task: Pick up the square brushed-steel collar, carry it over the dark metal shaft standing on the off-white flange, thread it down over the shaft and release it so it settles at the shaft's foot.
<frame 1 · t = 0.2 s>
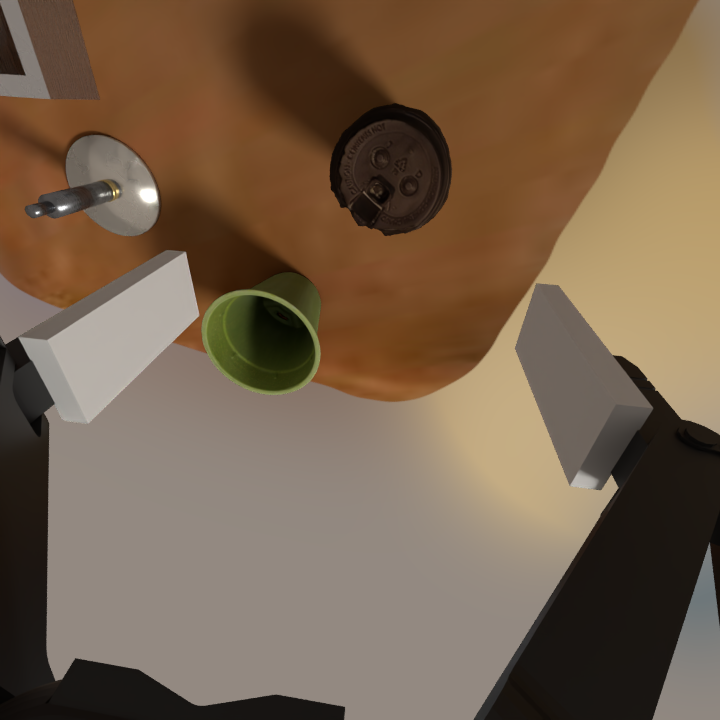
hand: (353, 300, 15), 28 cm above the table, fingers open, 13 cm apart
collar: (44, 43, 35), on the table
plant pot: (292, 297, 46), on the table
post: (115, 188, 41), on the table
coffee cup: (396, 156, 36), on the table
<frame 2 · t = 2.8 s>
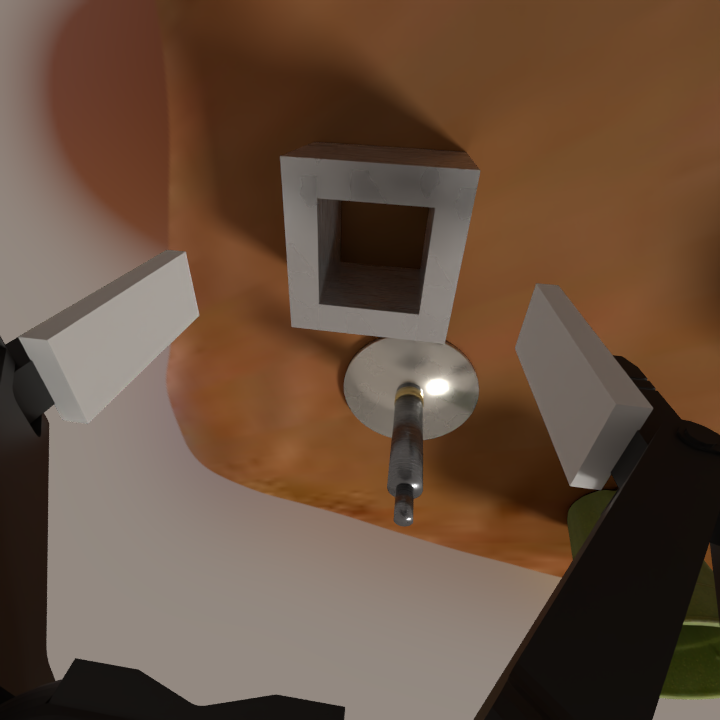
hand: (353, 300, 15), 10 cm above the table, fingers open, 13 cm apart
collar: (383, 224, 22), on the table
plant pot: (608, 509, 34), on the table
post: (409, 389, 29), on the table
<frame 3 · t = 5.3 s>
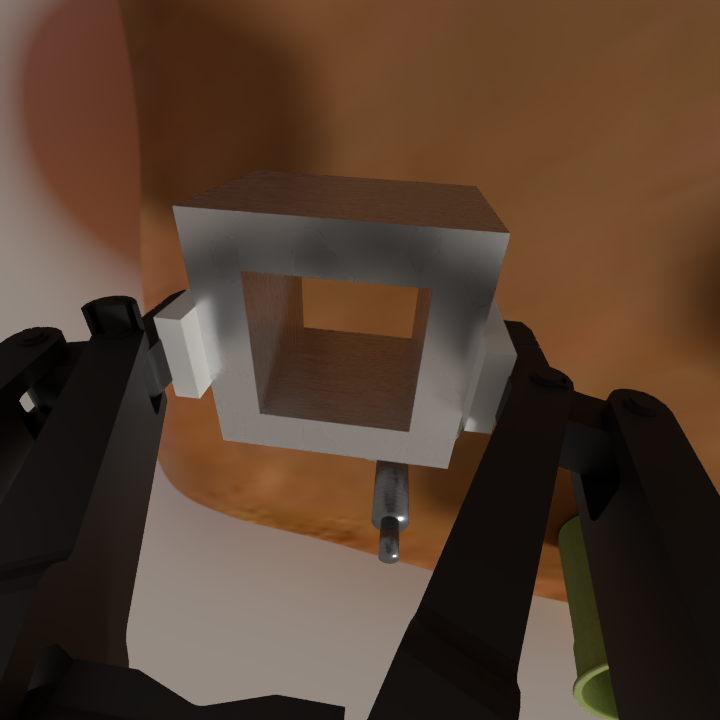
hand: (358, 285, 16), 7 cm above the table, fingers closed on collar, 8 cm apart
collar: (359, 281, 16), point 6 cm above the table, touching gripper
plant pot: (599, 529, 33), on the table
post: (394, 412, 28), on the table
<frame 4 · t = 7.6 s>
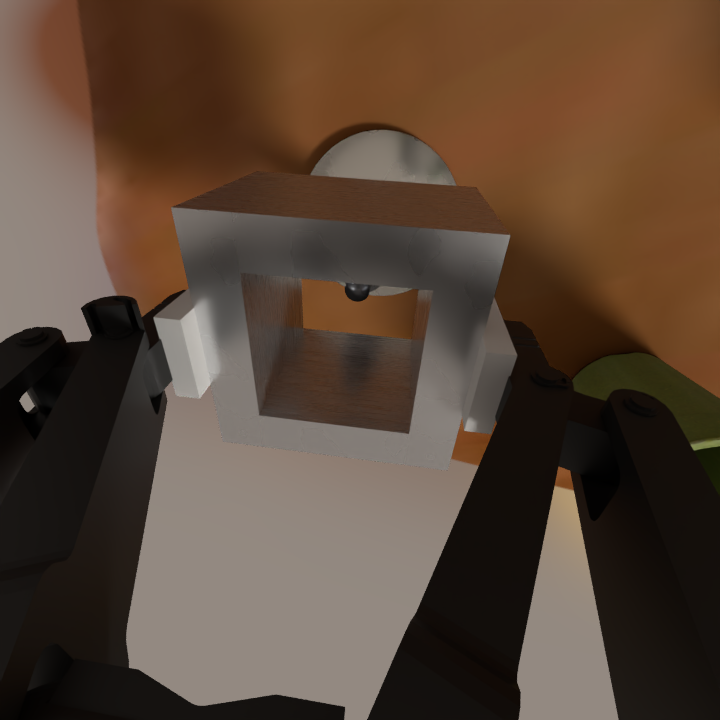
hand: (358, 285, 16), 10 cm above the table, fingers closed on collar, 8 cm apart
collar: (359, 282, 16), point 10 cm above the table, touching gripper
plant pot: (614, 386, 29), on the table
post: (379, 220, 24), on the table
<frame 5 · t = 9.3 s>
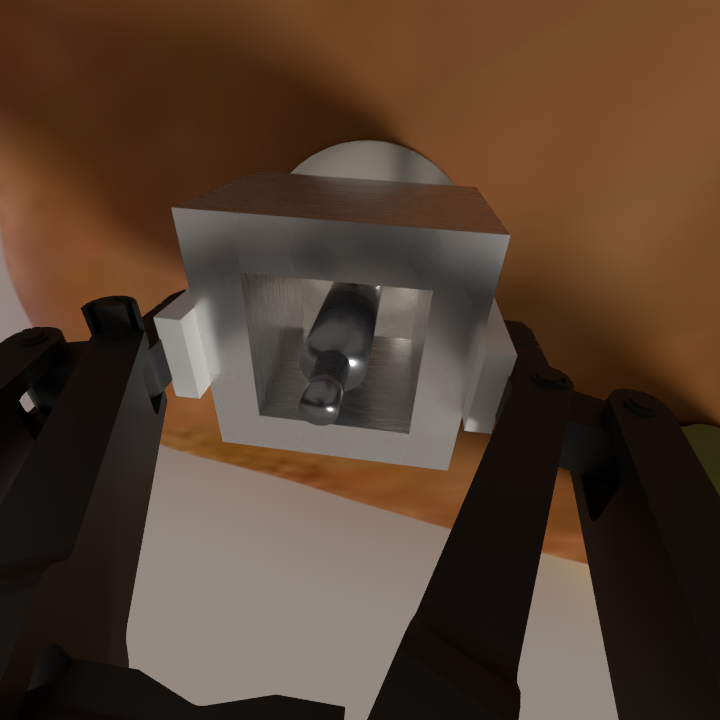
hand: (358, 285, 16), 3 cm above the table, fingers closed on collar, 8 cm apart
collar: (359, 282, 16), point 3 cm above the table, touching gripper
plant pot: (664, 459, 23), on the table
post: (367, 259, 18), on the table
when the fingers open (3 cm above the table, at t = 10.2 s): collar drops 2 cm, resting on post.
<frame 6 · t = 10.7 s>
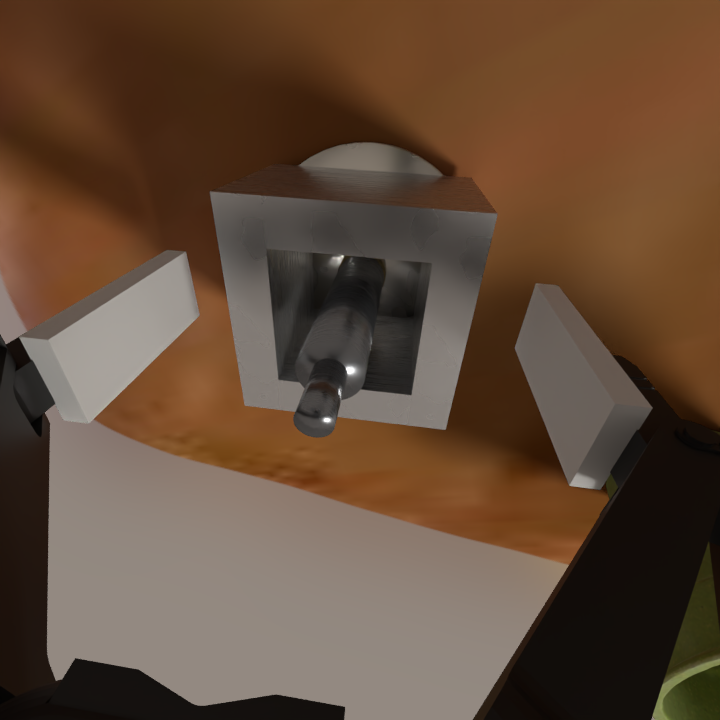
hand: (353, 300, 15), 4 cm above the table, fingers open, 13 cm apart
collar: (365, 265, 18), resting on post
plant pot: (667, 464, 23), on the table
post: (365, 262, 18), on the table
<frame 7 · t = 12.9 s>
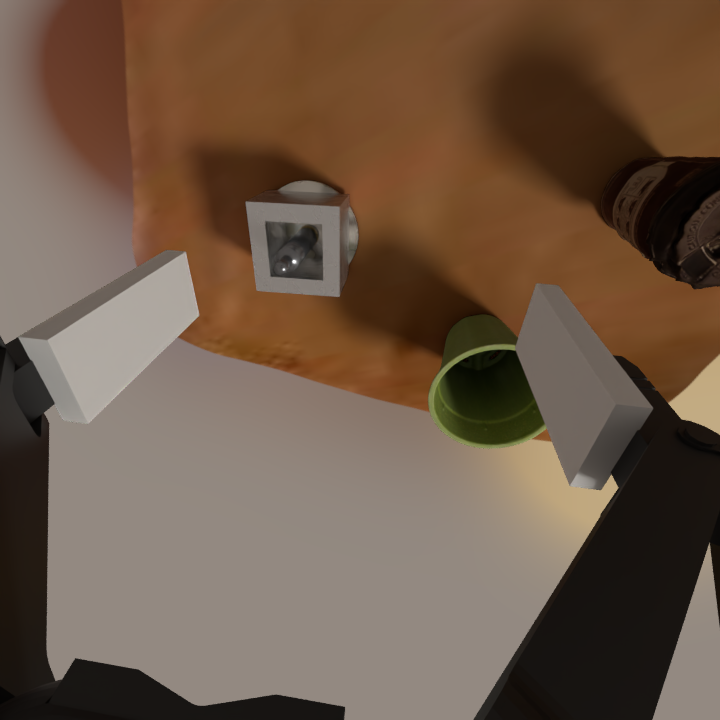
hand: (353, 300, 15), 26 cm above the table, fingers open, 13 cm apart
collar: (310, 234, 39), resting on post
plant pot: (476, 339, 44), on the table
post: (310, 233, 39), on the table
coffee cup: (634, 196, 34), on the table
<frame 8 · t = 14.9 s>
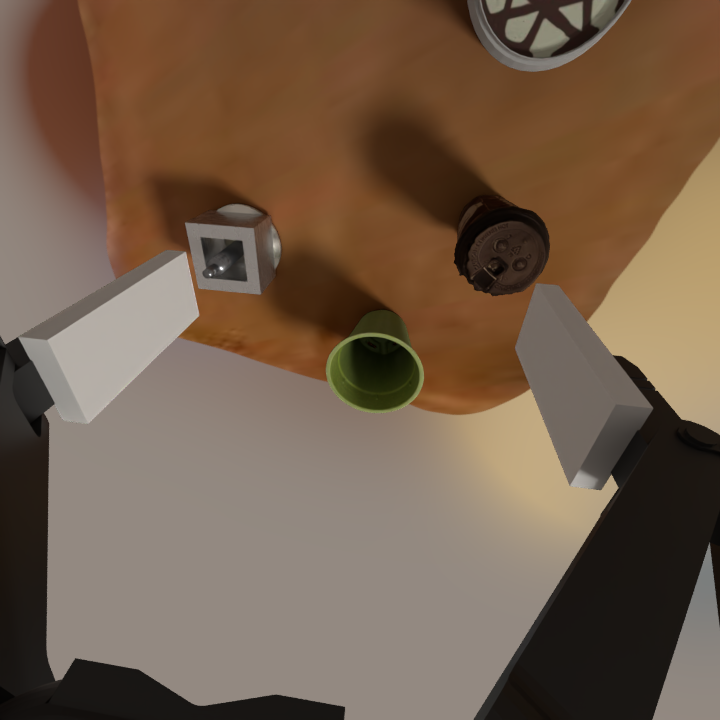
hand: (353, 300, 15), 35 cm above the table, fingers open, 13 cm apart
food container: (514, 36, 36), on the table
collar: (243, 244, 50), resting on post
plant pot: (381, 329, 55), on the table
post: (244, 243, 50), on the table
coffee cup: (483, 222, 45), on the table
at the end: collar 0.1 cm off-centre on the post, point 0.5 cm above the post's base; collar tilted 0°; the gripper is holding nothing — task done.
